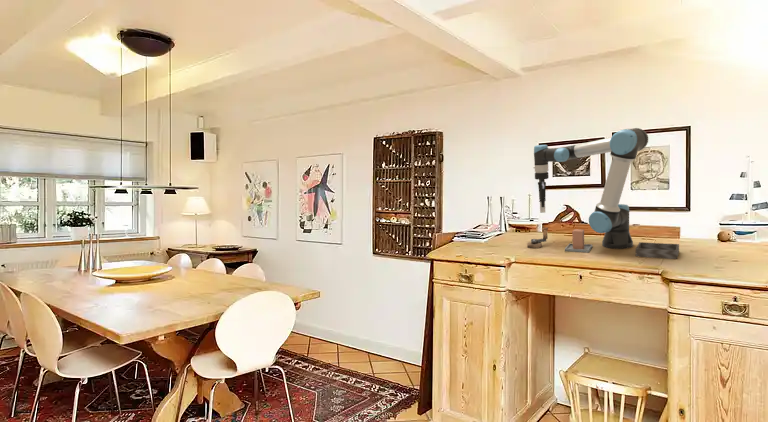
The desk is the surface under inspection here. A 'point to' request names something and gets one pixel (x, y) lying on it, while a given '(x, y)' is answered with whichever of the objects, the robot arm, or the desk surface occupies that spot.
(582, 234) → the post
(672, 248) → the bin
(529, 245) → the crank base
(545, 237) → the crank
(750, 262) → the desk surface
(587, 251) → the tray
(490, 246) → the desk surface
